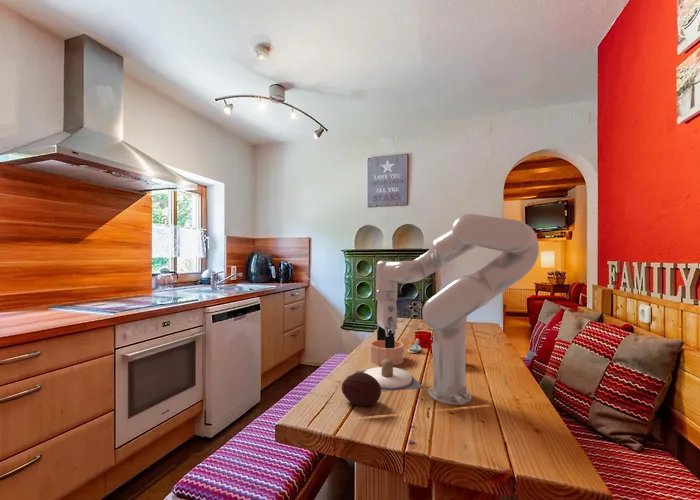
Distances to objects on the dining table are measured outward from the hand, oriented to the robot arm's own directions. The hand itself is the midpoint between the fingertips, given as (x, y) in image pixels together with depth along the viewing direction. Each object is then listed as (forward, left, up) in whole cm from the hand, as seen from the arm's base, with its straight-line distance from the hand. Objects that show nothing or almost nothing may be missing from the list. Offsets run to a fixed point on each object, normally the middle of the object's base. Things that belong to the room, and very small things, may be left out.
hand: (385, 343), depth 110 cm
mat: (-1, 0, -13) cm, 13 cm away
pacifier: (+30, -23, -13) cm, 40 cm away
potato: (-17, +12, -13) cm, 24 cm away
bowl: (+19, -7, -13) cm, 24 cm away
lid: (-1, 0, -12) cm, 12 cm away
